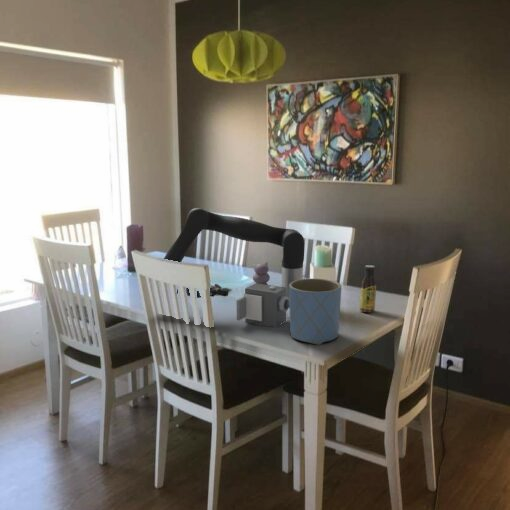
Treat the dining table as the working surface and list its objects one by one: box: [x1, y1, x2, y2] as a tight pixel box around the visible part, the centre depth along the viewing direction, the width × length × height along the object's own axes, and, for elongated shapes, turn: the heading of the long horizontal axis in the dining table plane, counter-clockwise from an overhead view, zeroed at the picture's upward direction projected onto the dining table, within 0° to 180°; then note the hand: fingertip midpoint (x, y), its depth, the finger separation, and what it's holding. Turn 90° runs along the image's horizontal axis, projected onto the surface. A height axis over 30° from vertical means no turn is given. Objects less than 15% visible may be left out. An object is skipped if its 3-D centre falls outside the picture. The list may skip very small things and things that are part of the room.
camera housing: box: [244, 282, 290, 328], centre depth 222 cm, size 16×9×15 cm, turn 62°
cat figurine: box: [252, 261, 270, 285], centre depth 274 cm, size 8×8×12 cm
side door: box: [236, 293, 262, 321], centre depth 217 cm, size 8×6×10 cm
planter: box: [289, 278, 342, 346], centre depth 205 cm, size 19×19×20 cm
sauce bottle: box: [359, 264, 377, 313], centre depth 234 cm, size 6×6×20 cm
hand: (227, 293), depth 219 cm, fingers closed
